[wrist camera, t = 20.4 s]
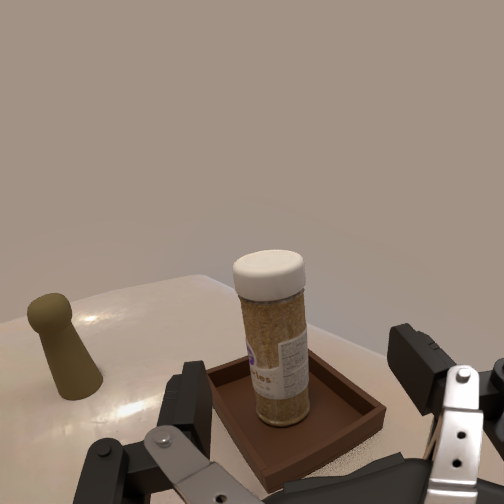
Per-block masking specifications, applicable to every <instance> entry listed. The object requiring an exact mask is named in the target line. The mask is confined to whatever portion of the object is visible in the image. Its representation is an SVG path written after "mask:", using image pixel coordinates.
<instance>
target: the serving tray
mask: <svg viewBox="0 0 504 504" xmlns="http://www.w3.org/2000/svg"><path fill="white" fill-rule="evenodd" d="M206 373H207V376H208V380H209V383H210V387H211V391H212V399H213V403H212V405H213V407H214V409H215V411H216V412H217V414H218V416H219V417H220V419H221V421H222V423H223V424H224V426H225V428H226V429H227V431H228V433H229V434H230V436H231V438H232V439H233V441H234V442H235V444H236V446H237V447H238V449H239V450H240V452H241V454H242V455H243V457H244V458H245V460H246V461H247V463H248V464H249V466H250V467H251V469H252V470H253V472H254V473H255V475H256V476H257V478H258V479H259V481H260V482H261V484H262V485H263V487H264V488H265V490H266V491H267V492H268V494H269V493H271V492H273V491H276V490H278V489H280V488H282V487H283V484H282V482H287V481H293V480H298V479H300V478H302V477H304V476H306V475H308V474H310V473H312V472H314V471H315V470H317V469H319V468H321V467H323V466H324V465H326V464H328V463H330V462H331V461H333V460H335V459H336V458H338V457H340V456H341V455H343V454H344V453H346V452H348V451H349V450H351V449H352V448H354V447H356V446H357V445H359V444H360V443H362V442H363V441H365V440H366V439H368V438H369V437H370V436H372V435H373V434H375V433H376V432H378V431H379V430H380V429H382V426H383V422H384V417H385V413H386V407H385V406H384V405H382V404H381V403H380V402H378V401H377V400H376V399H374V398H373V397H372V396H370V395H369V394H367V393H366V392H365V391H363V390H362V389H361V388H359V387H358V386H357V385H355V384H354V383H353V382H351V381H350V380H349V379H347V378H346V377H345V376H343V375H342V374H341V373H339V372H338V371H337V370H335V369H334V368H333V367H331V366H330V365H329V364H328V363H326V362H325V361H324V360H322V359H321V358H320V357H318V356H317V355H316V354H315V353H313V352H312V351H311V350H309V349H308V373H309V381H308V399H309V402H310V409H309V412H308V414H307V415H306V416H305V417H304V418H303V419H302V420H301V421H299V422H298V423H296V424H292V425H289V426H284V427H280V426H272V425H270V424H267V423H265V422H263V421H262V420H261V419H260V418H259V417H258V415H257V412H256V404H257V403H256V397H255V391H254V387H253V383H252V377H251V370H250V363H249V357H248V356H245V357H242V358H240V359H237V360H234V361H231V362H228V363H226V364H223V365H220V366H217V367H214V368H211V369H208V370H206Z"/></svg>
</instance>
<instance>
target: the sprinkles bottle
mask: <svg viewBox="0 0 504 504" xmlns="http://www.w3.org/2000/svg"><path fill="white" fill-rule="evenodd" d="M233 277H234V284H235V290H236V292H237V294H238V297H239V299H240V301H241V308H242V314H243V321H244V326H245V333H246V345H247V351H248V357H249V363H250V370H251V377H252V383H253V387H254V391H255V397H256V403H257V404H256V412H257V415H258V417H259V418H260V419H261V420H262V421H263V422H265V423H267V424H270V425H272V426H280V427H284V426H289V425H292V424H296V423H298V422H299V421H301V420H302V419H303V418H304V417H305V416H306V415H307V414H308V412H309V409H310V402H309V399H308V381H309V373H308V345H307V325H306V322H305V321H306V320H305V306H304V294H303V292H304V288H303V287H304V286H305V269H304V260H303V258H302V256H300V255H299V254H298V253H295V252H293V251H288V250H266V251H259V252H255V253H251V254H248V255H246V256H243V257H241V258H239V259H238V260H237V261H236V262H235V263H234V265H233Z"/></svg>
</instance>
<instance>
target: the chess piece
mask: <svg viewBox="0 0 504 504" xmlns="http://www.w3.org/2000/svg"><path fill="white" fill-rule="evenodd" d="M27 317H28V321H29V323H30V325H31V327H32V328H33V330H34V331H35V332H37V333H38V334H39V336H40V339H41V343H42V346H43V349H44V352H45V356H46V359H47V362H48V365H49V368H50V370H51V373H52V376H53V379H54V381H55V384H56V387H57V389H58V392H59V394H60V395H61V396H62V398H65V399H67V400H79V399H83V398H85V397H88V396H90V395H91V394H93V393H94V392H96V391H97V390H98V389H99V387H100V386H101V384H102V382H103V377H102V375H101V373H100V371H99V369H98V368H97V366H96V365H95V363H94V361H93V360H92V358H91V356H90V355H89V353H88V351H87V349H86V348H85V346H84V344H83V342H82V341H81V339H80V337H79V335H78V333H77V332H76V330H75V328H74V326H73V324H72V322H71V319H72V309H71V306H70V303H69V301H68V300H67V298H66V297H65V296H64V295H62V294H59V293H51V294H47V295H44V296H41V297H39V298H37V299H36V300H34V301H33V302H31V304H30V305H29V307H28V311H27Z"/></svg>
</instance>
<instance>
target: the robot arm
mask: <svg viewBox="0 0 504 504" xmlns="http://www.w3.org/2000/svg"><path fill="white" fill-rule="evenodd" d="M387 361H388V365H389V367H390V369H391V371H392V372H393V374H394V375H395V376H396V378H397V379H398V381H399V382H400V384H401V385H402V387H403V388H404V390H405V391H406V393H407V394H408V396H409V397H410V398H411V400H412V401H413V403H414V404H415V406H416V407H417V409H418V410H419V412H420V413H421V415H422V416H425V415H427V414H430V413H433V415H434V417H433V420H432V424H431V429H430V433H429V437H428V441H427V445H426V449H425V453H424V456H423V459H420V458H406V459H404V458H403V456H402V454H401V452H399V453H396V454H393V455H390V456H387V457H384V458H381V459H378V460H375V461H373V462H371V463H369V464H367V465H366V466H364V467H362V468H360V469H358V470H356V471H354V472H352V473H350V474H348V475H345V476H325V477H309V478H304V479H299V480H293V481H287V482H282V484H283V490H281V491H278V492H276V493H274V494H272V495H270V496H268V497H267V498H265V499H263V500H262V501H261V500H260V499H258V498H257V497H256V496H255V495H254V494H252V493H251V492H250V491H249V490H248V489H246V488H245V487H244V486H243V485H242V484H241V483H239V482H238V481H237V480H236V479H235V478H234V477H233V476H231V475H230V474H229V473H228V472H227V471H226V470H225V469H224V468H223V467H222V466H220V465H219V464H218V463H217V462H215V461H214V462H210V442H211V421H212V403H213V399H212V391H211V387H210V383H209V380H208V376H207V373H206V369H205V365H204V362H203V361H202V360H201V361H191V362H184V366H183V371H182V374H178V375H173V376H172V378H171V379H170V380H169V381H168V382H167V385H166V389H165V394H164V397H163V401H162V406H161V410H160V414H159V418H158V422H157V427H156V428H154V429H152V430H151V431H149V432H148V433H147V435H146V436H145V439H144V440H143V441H141V442H137V443H133V444H128V445H124V446H122V445H121V443H120V442H119V441H117V440H116V439H113V438H103V439H100V440H97V441H96V442H94V443H93V444H92V445H91V446H90V448H89V450H88V452H87V456H86V459H85V462H84V465H83V469H82V472H81V475H80V479H79V482H78V486H77V489H76V493H75V497H74V500H73V504H150V498H151V494H152V493H156V492H161V491H165V490H169V489H173V490H174V491H175V492H176V493H177V494H178V496H179V497H180V498H181V499H182V500H183V502H184V503H185V504H504V486H502V485H498V484H495V483H492V482H489V481H486V480H482V479H479V478H477V475H478V468H479V461H480V452H481V442H482V429H483V430H484V432H485V433H486V435H487V436H488V438H489V439H490V441H491V442H492V444H493V445H494V447H495V448H496V450H497V451H498V453H499V455H500V456H501V458H502V459H503V461H504V358H501V359H499V360H497V361H496V362H495V364H494V367H493V370H491V371H485V372H477V371H476V369H474V368H473V367H471V366H468V365H457V364H456V363H455V362H454V361H453V360H452V359H451V358H450V357H449V356H448V355H447V354H446V353H445V352H444V351H443V350H442V349H440V347H439V346H438V345H437V344H436V343H435V341H433V339H432V338H430V336H429V335H427V334H424V333H422V332H420V331H417V332H416V331H415V330H414V329H413V328H412V327H411V326H410V325H409V324H408V323H405V324H401V325H398V326H394V327H391V329H390V333H389V345H388V352H387Z"/></svg>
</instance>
